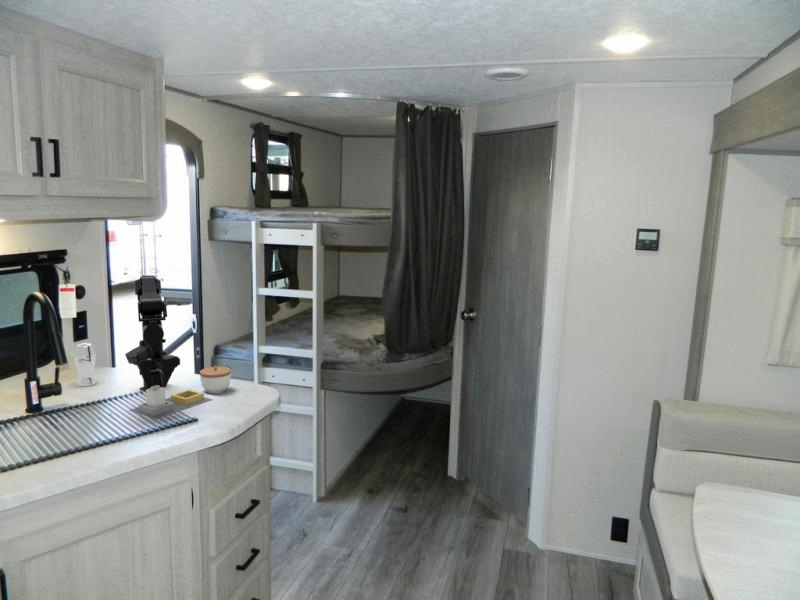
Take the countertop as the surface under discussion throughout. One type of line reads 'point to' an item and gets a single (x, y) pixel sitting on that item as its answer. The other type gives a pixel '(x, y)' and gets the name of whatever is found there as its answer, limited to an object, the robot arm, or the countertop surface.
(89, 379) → the beer glass
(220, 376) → the lidded jar
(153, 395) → the plug
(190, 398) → the multicoloured flat piece
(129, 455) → the countertop surface
